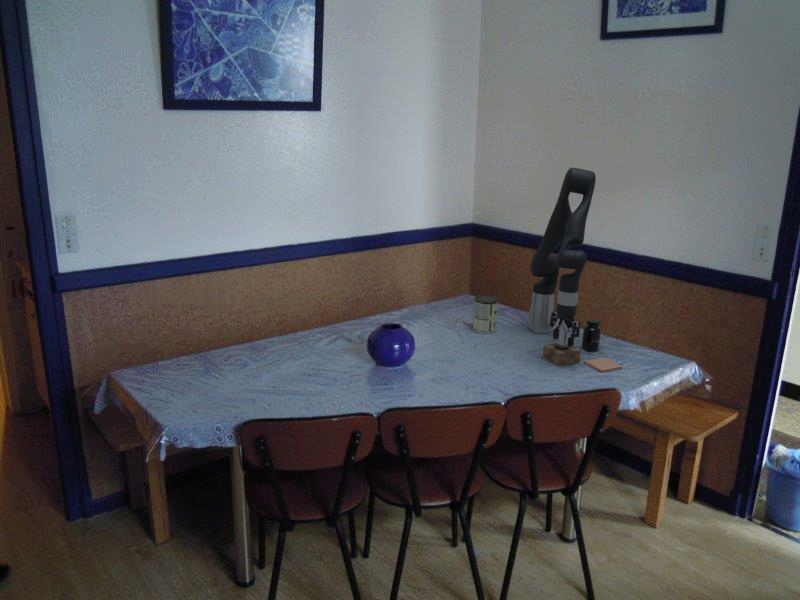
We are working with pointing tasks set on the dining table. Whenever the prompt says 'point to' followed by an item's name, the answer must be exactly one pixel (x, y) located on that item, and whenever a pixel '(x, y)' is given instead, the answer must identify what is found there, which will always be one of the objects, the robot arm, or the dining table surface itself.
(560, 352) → the walnut block
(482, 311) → the coffee can
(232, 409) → the dining table surface
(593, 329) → the supplement bottle
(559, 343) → the metal pin
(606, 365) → the terracotta mat
